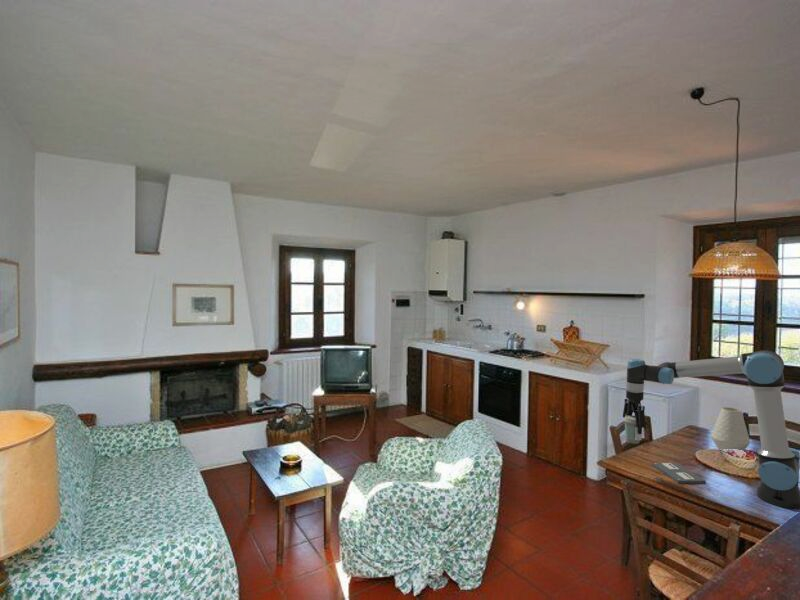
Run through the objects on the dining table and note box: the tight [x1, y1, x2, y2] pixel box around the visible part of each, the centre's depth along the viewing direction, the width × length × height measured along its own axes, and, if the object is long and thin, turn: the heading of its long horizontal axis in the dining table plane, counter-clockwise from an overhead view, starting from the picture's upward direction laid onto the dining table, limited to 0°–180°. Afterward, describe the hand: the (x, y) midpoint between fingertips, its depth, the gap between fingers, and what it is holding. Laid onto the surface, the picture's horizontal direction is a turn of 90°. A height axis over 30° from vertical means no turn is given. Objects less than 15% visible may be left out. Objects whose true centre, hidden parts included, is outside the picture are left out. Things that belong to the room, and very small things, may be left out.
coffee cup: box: [623, 414, 641, 445], centre depth 217 cm, size 8×9×12 cm
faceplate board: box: [651, 462, 706, 484], centre depth 215 cm, size 20×13×2 cm, turn 2°
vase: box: [710, 406, 751, 451], centre depth 245 cm, size 17×17×23 cm
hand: (632, 436), depth 217 cm, fingers closed on coffee cup, 8 cm apart
